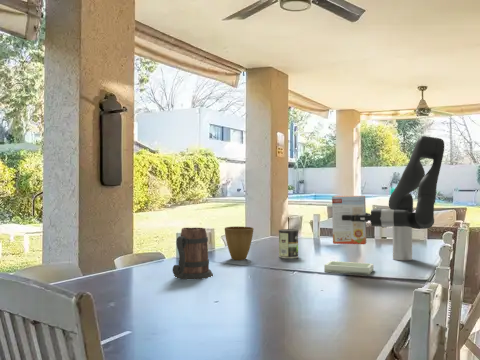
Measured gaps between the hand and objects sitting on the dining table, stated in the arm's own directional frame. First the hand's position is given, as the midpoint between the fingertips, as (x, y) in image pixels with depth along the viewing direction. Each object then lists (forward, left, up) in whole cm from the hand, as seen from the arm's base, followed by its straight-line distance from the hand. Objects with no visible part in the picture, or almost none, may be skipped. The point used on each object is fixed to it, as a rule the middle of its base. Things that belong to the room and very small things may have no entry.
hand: (343, 217), depth 203 cm
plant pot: (-10, -56, -24) cm, 62 cm away
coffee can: (-26, -35, -24) cm, 50 cm away
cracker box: (0, +2, -12) cm, 12 cm away
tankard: (+38, -56, -24) cm, 72 cm away
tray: (0, +2, -24) cm, 24 cm away
